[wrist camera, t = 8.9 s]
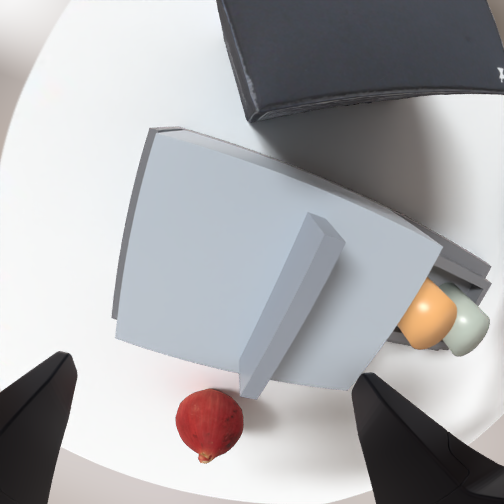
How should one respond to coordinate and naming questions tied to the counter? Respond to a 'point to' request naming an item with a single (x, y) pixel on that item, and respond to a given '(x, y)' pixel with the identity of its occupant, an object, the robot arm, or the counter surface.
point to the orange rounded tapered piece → (428, 317)
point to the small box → (358, 51)
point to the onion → (209, 423)
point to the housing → (442, 274)
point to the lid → (263, 267)
